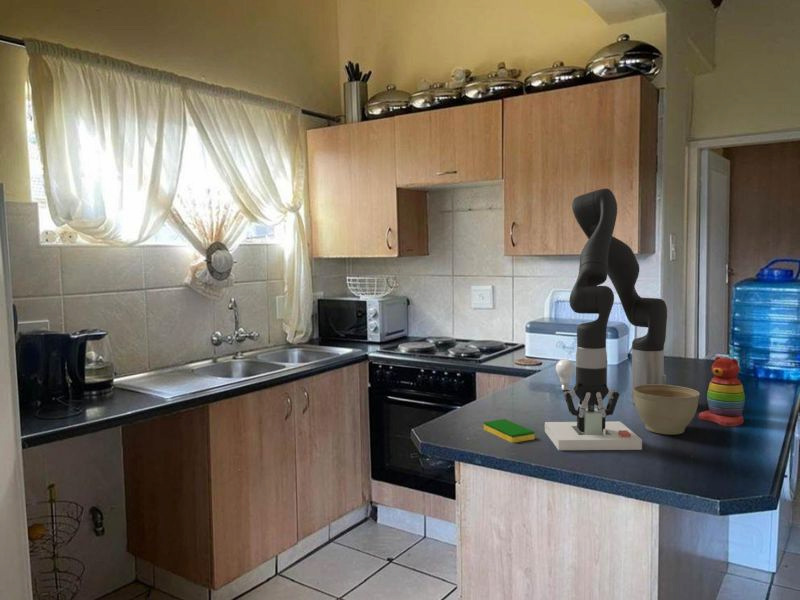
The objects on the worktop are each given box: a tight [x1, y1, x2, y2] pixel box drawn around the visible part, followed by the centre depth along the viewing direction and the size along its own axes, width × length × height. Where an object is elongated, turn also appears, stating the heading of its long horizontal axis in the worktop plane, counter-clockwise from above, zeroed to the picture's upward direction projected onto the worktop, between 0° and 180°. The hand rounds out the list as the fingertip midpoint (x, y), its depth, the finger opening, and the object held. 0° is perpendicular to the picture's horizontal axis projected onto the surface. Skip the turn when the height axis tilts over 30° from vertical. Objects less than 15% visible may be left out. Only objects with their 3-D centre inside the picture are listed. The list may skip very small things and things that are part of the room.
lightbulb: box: [555, 358, 576, 392], centre depth 212 cm, size 6×6×11 cm
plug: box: [582, 404, 602, 435], centre depth 156 cm, size 4×5×8 cm
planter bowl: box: [633, 384, 700, 436], centre depth 163 cm, size 16×16×11 cm
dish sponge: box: [483, 418, 536, 443], centre depth 163 cm, size 7×14×2 cm, turn 24°
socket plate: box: [544, 420, 643, 451], centre depth 156 cm, size 20×16×3 cm
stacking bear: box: [698, 356, 746, 428], centre depth 171 cm, size 11×10×18 cm
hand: (590, 430), depth 156 cm, fingers open, 4 cm apart
